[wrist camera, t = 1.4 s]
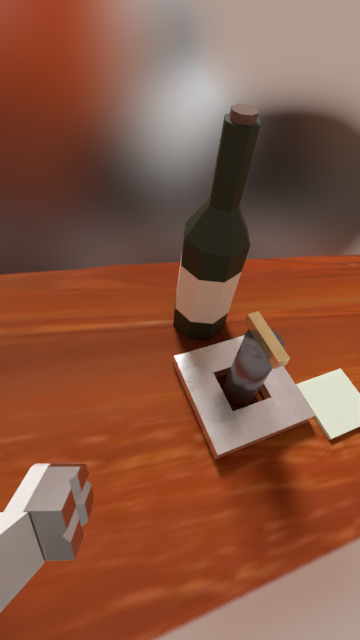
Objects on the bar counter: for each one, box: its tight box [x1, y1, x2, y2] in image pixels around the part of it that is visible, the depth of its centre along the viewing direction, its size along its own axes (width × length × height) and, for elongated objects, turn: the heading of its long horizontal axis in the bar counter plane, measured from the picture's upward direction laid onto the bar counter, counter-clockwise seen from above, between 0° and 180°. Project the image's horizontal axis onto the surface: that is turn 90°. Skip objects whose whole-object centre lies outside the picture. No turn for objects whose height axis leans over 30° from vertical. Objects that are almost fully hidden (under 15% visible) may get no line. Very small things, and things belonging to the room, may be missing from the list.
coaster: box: [296, 368, 360, 440], centre depth 45 cm, size 8×8×1 cm
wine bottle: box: [173, 104, 260, 340], centre depth 41 cm, size 8×8×30 cm
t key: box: [223, 311, 290, 407], centre depth 40 cm, size 6×4×13 cm
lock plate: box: [173, 335, 316, 460], centre depth 45 cm, size 14×14×2 cm
